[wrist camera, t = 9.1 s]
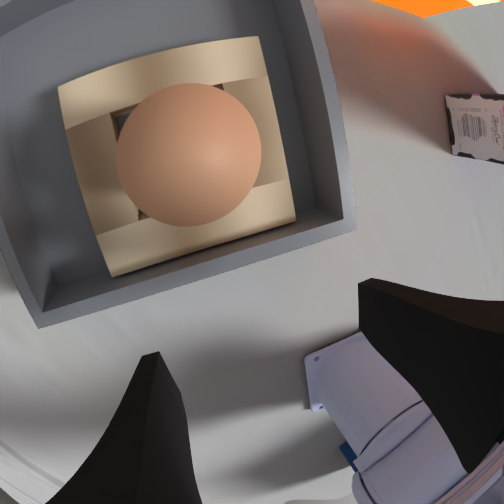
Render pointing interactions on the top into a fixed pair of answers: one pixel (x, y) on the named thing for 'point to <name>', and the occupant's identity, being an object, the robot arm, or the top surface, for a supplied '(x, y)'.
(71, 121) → the plate
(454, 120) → the candy box
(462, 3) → the orange juice
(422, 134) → the top surface
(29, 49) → the tray
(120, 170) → the peg
